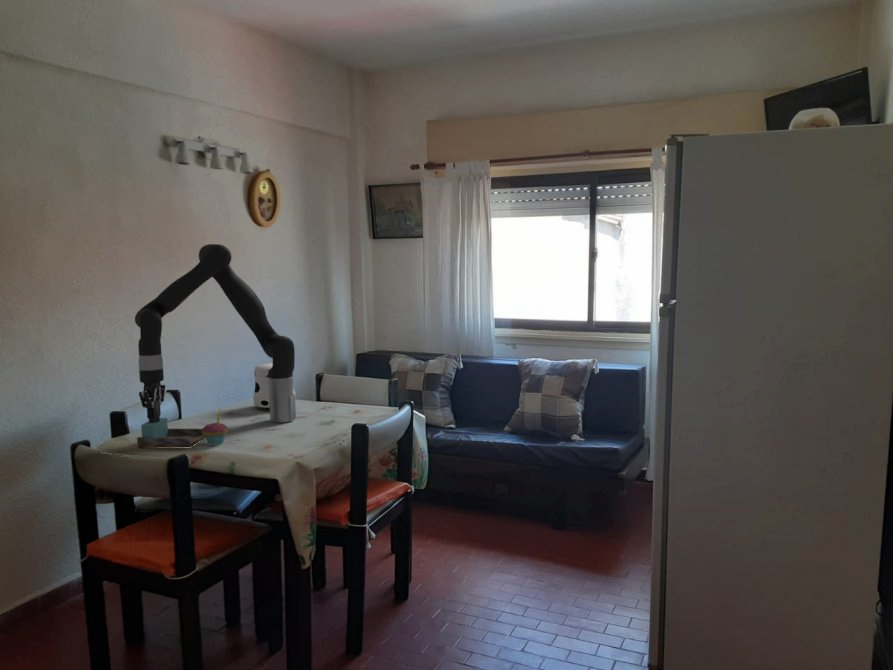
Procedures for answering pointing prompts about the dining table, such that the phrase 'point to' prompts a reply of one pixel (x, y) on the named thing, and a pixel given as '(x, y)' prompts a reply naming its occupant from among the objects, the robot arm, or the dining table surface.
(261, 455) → the dining table surface
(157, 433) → the press jaw
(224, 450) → the dining table surface
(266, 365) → the milk container
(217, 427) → the cupcake
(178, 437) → the press base
